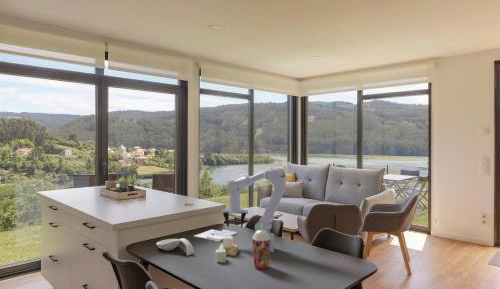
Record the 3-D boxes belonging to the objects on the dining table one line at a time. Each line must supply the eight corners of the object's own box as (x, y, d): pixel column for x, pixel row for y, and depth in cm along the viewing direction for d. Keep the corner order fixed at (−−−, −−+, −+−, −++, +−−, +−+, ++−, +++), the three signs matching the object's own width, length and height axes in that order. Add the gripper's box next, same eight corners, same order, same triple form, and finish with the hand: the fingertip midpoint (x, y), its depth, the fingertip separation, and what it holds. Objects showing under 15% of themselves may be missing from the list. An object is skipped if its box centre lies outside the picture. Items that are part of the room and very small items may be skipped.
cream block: (233, 245, 179) (233, 236, 179) (231, 248, 175) (231, 238, 175) (224, 245, 180) (224, 235, 180) (223, 248, 175) (223, 238, 175)
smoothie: (264, 272, 152) (264, 227, 151) (248, 268, 156) (248, 224, 156) (273, 266, 159) (273, 223, 158) (258, 262, 163) (258, 220, 163)
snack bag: (220, 242, 196) (220, 239, 196) (192, 237, 207) (192, 234, 207) (238, 234, 213) (238, 231, 212) (212, 230, 223) (212, 227, 223)
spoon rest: (151, 249, 184) (151, 236, 183) (168, 244, 193) (168, 231, 193) (182, 258, 170) (182, 244, 170) (199, 252, 179) (199, 238, 179)
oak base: (237, 249, 182) (237, 244, 182) (235, 255, 173) (235, 249, 173) (221, 249, 183) (221, 243, 183) (218, 255, 174) (218, 249, 174)
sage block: (224, 258, 169) (224, 248, 168) (225, 262, 164) (225, 251, 164) (215, 259, 168) (215, 249, 168) (216, 262, 163) (216, 252, 163)
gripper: (220, 203, 186) (220, 228, 186) (247, 203, 185) (247, 228, 185) (222, 200, 193) (222, 225, 193) (248, 201, 192) (248, 225, 192)
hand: (234, 226), depth 189 cm, fingers open, 7 cm apart
